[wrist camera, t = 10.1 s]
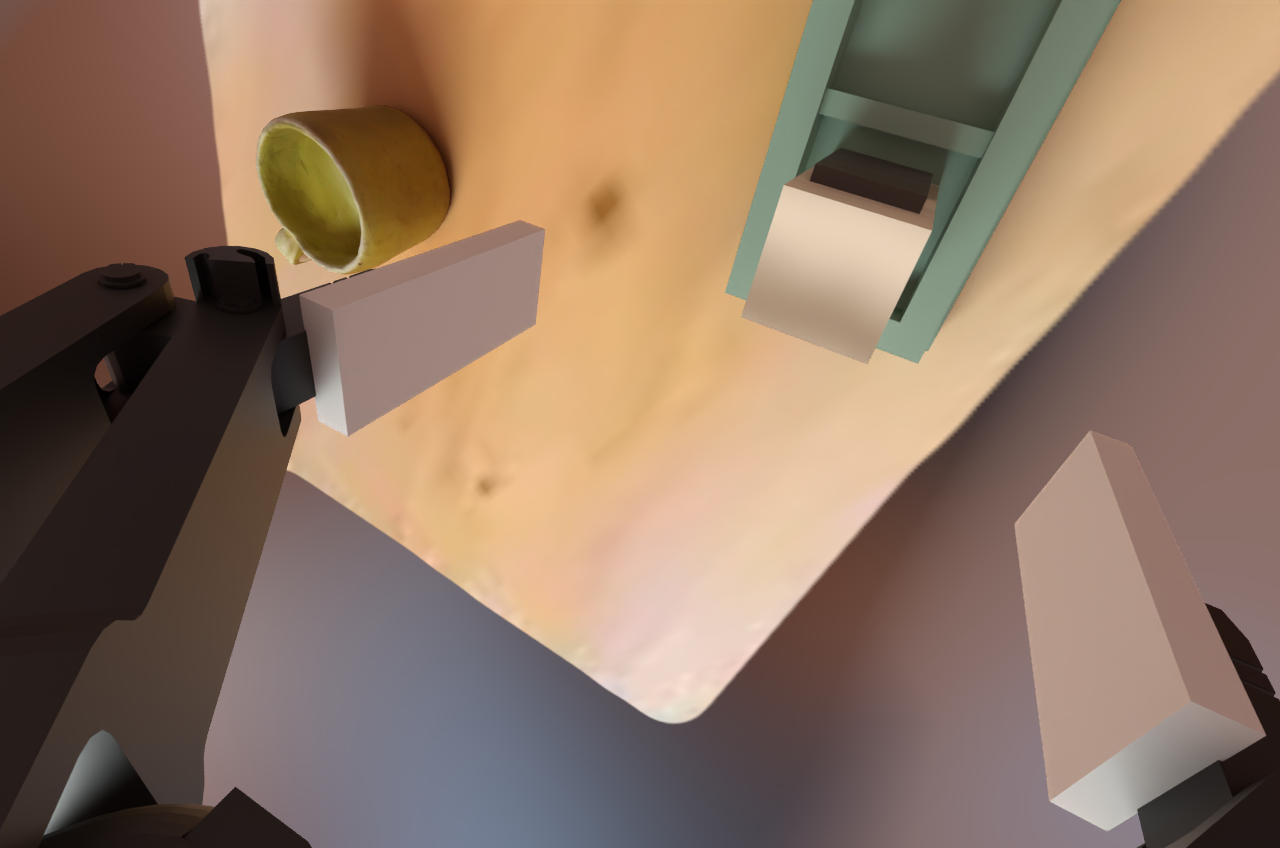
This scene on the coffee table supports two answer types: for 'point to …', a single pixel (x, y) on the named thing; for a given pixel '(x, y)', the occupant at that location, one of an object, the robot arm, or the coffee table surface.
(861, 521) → the coffee table surface
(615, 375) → the coffee table surface
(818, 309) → the block
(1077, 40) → the teal slotted holder
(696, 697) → the coffee table surface
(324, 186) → the mug
